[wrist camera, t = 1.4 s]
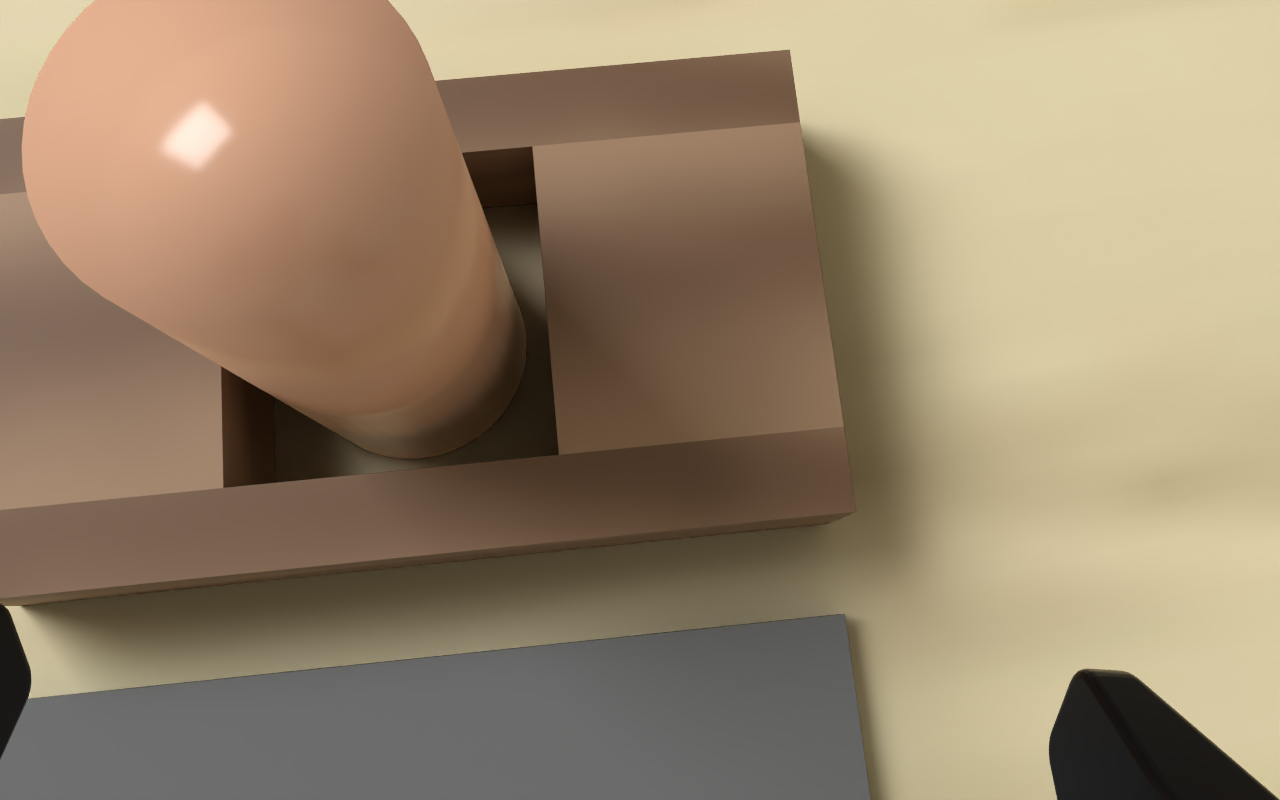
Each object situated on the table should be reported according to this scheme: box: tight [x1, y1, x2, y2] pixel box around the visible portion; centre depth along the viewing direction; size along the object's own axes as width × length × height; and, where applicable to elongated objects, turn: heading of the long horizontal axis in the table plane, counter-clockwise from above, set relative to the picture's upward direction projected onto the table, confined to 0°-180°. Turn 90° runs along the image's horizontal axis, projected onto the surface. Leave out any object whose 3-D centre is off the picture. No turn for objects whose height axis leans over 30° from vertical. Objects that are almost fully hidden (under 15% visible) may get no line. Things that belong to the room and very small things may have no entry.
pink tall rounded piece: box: [22, 0, 526, 459], centre depth 18 cm, size 5×5×11 cm
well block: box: [0, 50, 856, 606], centre depth 22 cm, size 10×18×3 cm, turn 96°
